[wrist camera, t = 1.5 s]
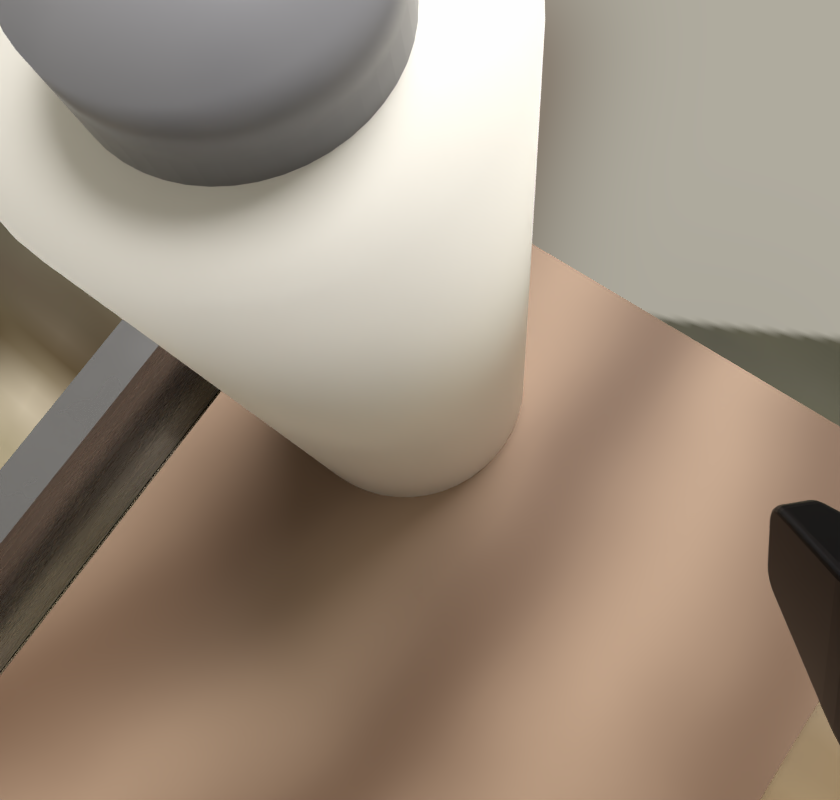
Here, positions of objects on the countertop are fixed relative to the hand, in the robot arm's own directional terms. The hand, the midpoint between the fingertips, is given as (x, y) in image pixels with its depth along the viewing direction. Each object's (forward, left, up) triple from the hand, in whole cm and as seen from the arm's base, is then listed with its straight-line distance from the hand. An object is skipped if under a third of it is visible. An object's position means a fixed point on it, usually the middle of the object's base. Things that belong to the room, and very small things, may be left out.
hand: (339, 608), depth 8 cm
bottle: (+4, -4, -11) cm, 12 cm away
